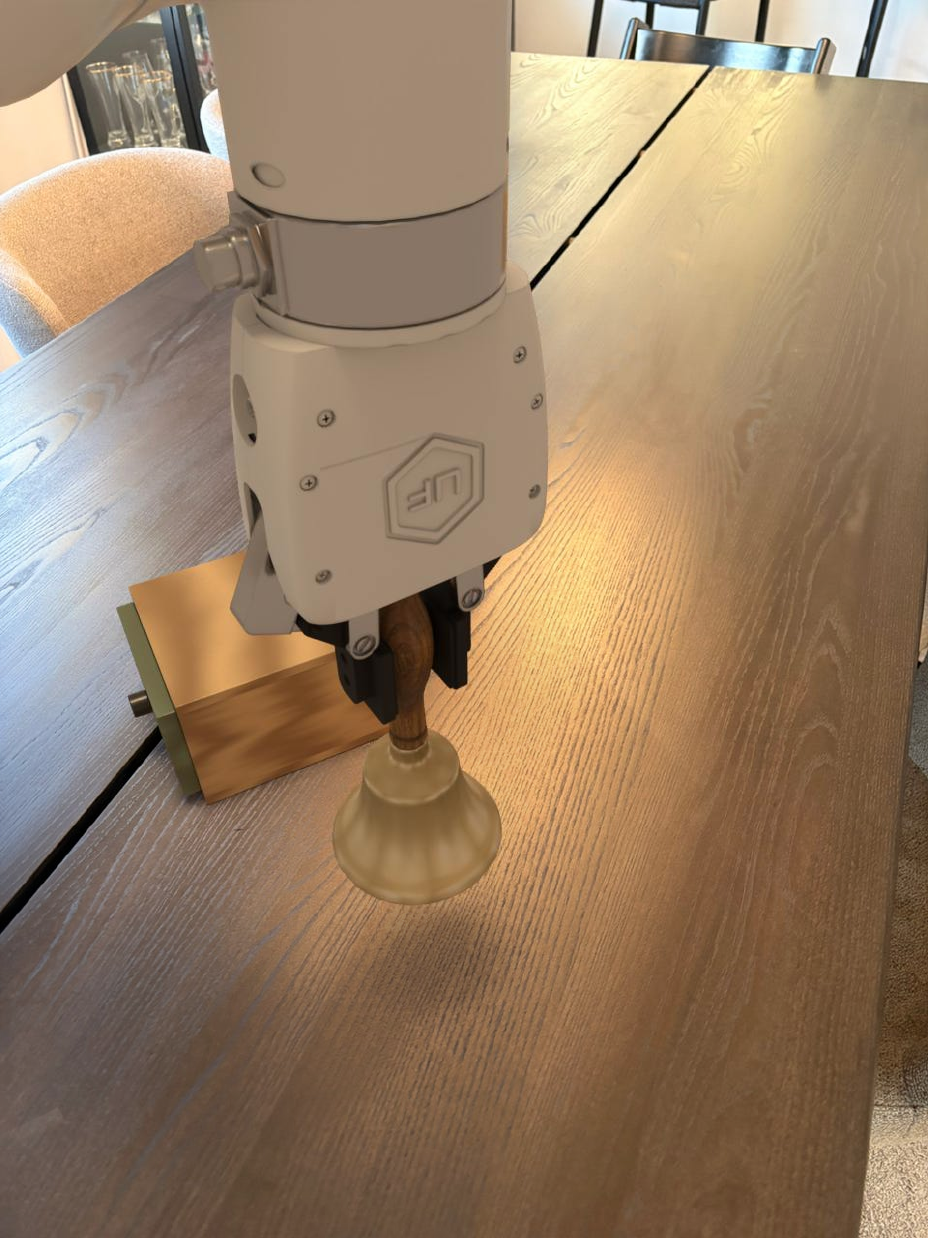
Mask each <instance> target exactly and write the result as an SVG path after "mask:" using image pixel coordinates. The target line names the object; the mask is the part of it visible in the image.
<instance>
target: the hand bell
mask: <svg viewBox="0 0 928 1238" xmlns="http://www.w3.org/2000/svg"><path fill="white" fill-rule="evenodd" d="M379 634H380V636H381V637H382V638H383V639H384V640H385V641H386V642H387V644H388V645H389V646H390V647H391V649H392V651H393V653H394V660H395V673H396V685H397V698H398V710H399V714H398V715H396V719H395V720H394V721H392V722H390V723H389V733H387V734H385V735H384V736H382V737H380V738H377V739H376V741H374V742H373V744H371V746H370V747H369V748H368V750H367V752H366V754H365V756H364V758H363V762H362V777H361V781H359V782H358V783H356V785H355V786H354V787H353V788H352V789H351V790H350V791H349V793H348V794H347V795H346V797H345V798H344V799H343V801H342V803H341V805H340V807H339V808H338V810H337V813H336V816H335V818H334V821H333V826H332V835H331V836H332V839H331V840H332V848H333V849H332V850H333V854H334V857H335V859H336V861H337V863H338V866H339V868H340V870H341V871H342V873H343V874H344V875H345V876H346V878H347V879H348V880H349V881H350V882H351V884H352V885H354V886H355V887H356V888H357V889H359V890H360V891H362V892H363V893H365V894H368V895H369V896H371V897H372V898H375V899H377V900H380V901H382V902H386V903H389V904H394V905H400V906H409V907H410V906H411V907H412V906H414V907H415V906H424V905H430V904H435V903H439V902H441V901H446V900H450V899H452V898H454V897H456V896H458V895H460V894H462V893H464V892H465V891H466V890H468V889H470V888H472V887H473V886H474V885H476V884H477V883H478V882H479V881H480V880H481V879H482V877H484V876H485V874H486V873H487V872H488V870H489V869H490V868H491V866H492V865H493V863H494V861H495V860H496V859H497V855H498V853H499V850H500V847H501V842H502V834H503V828H502V827H503V826H502V818H501V814H500V811H499V808H498V805H497V803H496V801H495V800H494V798H493V796H492V795H491V793H490V792H489V791H488V789H487V788H486V787H485V786H484V785H483V784H482V783H481V782H480V781H478V780H477V779H476V778H475V777H473V776H472V775H471V774H470V773H468V772H466V771H465V770H462V766H461V761H460V756H459V753H458V751H457V749H456V748H455V747H456V746H454V745H453V743H452V742H451V741H450V740H449V739H448V738H447V737H445V736H444V735H443V734H441V733H440V732H437V731H436V730H433V729H431V728H430V729H429V728H428V724H427V716H426V715H427V714H426V707H425V692H426V688H427V684H428V681H429V679H430V676H431V673H432V671H433V670H432V664H433V656H434V638H433V627H432V623H431V619H430V616H429V613H428V611H427V609H426V607H425V604H424V602H423V600H422V598H421V597H420V595H419V593H415V594H413V595H410V596H408V597H406V598H403V599H401V600H398V601H396V602H394V603H391V604H389V605H387V606H384V607H382V608H379Z"/></svg>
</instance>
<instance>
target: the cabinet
mask: <svg viewBox="0 0 928 1238" xmlns="http://www.w3.org/2000/svg"><path fill="white" fill-rule="evenodd" d="M246 552H247V549H246V550H243V551H239V552H236V553H233V554H230V555H226V556H223V557H220V558H216V559H212V560H211V561H207V562H203V563H200V564H197V565H194V566H191V567H187V568H184V569H180V570H177V571H173V572H172V573H168V574H164V575H162V576H157V577H155V578H152V579H149V580H145V581H142V582H139V583H135V584H132V585H129V586H128V591H129V594H130V597H131V600H132V602H133V603H134V605H135V607H136V610H137V612H138V615H139V618H140V620H141V623H142V625H143V628H144V631H145V633H146V636H147V638H148V641H149V643H150V646H151V649H152V651H153V654H154V656H155V659H156V662H157V664H158V667H159V669H160V672H161V674H162V677H163V680H164V682H165V685H166V687H167V690H168V693H169V695H170V698H171V700H172V703H173V705H174V708H175V711H176V713H177V716H178V720H179V723H180V726H181V729H182V732H183V735H184V738H185V741H186V744H187V747H188V750H189V753H190V756H191V759H192V762H193V765H194V768H195V771H196V774H197V777H198V780H199V783H200V786H201V793H202V795H203V798H204V800H205V803H206V805H207V806H209V805H212V804H214V803H216V802H219V801H221V800H224V799H226V798H230V797H232V796H234V795H237V794H241V793H242V792H245V791H247V790H249V789H252V788H255V787H257V786H260V785H262V784H265V783H268V782H271V781H272V780H276V779H278V778H280V777H282V776H283V777H284V776H285V775H288V774H291V773H293V772H295V771H298V770H301V769H303V768H305V767H308V766H310V765H313V764H316V763H318V762H321V761H325V760H326V759H329V758H331V757H334V756H336V755H339V754H342V753H344V752H347V751H349V750H351V749H354V748H357V747H360V746H362V745H365V744H367V743H370V742H372V741H375V740H378V739H379V738H381V737H382V736H384V735H385V734H387V733H389V723H387V724H385V725H383V724H382V723H381V722H380V721H379V720H378V719H377V717H376V716H375V715H374V713H373V712H372V711H371V710H370V708H369V707H368V706H367V705H366V703H365V702H364V701H363V702H361V703H359V704H354V703H353V702H352V701H351V699H350V698H349V697H348V696H347V694H346V693H345V691H344V689H343V688H342V685H341V683H340V680H339V676H338V669H337V661H336V654H335V647H334V645H331V644H328V643H325V642H322V641H319V640H316V639H313V638H310V637H307V636H305V635H304V634H303V633H302V632H292V633H291V634H290V635H249V634H247V633H246V632H245V631H244V629H243V628H242V626H241V625H240V624H239V622H238V621H237V620H236V618H235V617H234V615H233V614H232V612H231V610H230V604H231V601H232V597H233V594H234V591H235V588H236V584H237V581H238V578H239V575H240V571H241V568H242V565H243V562H244V558H245V555H246Z"/></svg>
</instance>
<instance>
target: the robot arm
mask: <svg viewBox="0 0 928 1238" xmlns="http://www.w3.org/2000/svg"><path fill="white" fill-rule="evenodd" d="M193 4H197V5H198V6H199V7H200V8H201V10H202V11H203V13H204V16H205V17H204V18H205V22H206V23H205V25H206V29H207V35H208V40H209V47H210V52H211V58H212V64H213V70H214V71H213V72H214V77H215V83H216V88H217V89H216V90H217V95H218V101H219V107H220V113H221V120H222V125H223V132H224V137H225V144H226V148H227V149H226V150H227V155H228V162H229V168H230V173H231V175H230V176H231V179H232V186H233V190H230V191H227V192H226V196H227V197H226V198H227V202H228V209H229V217H228V226H226V227H221V228H219V230H218V231H217V235H213V236H209V237H204V238H201V239H196V240H194V241H193V244H192V254H193V259H194V263H195V267H196V270H197V273H198V276H199V277H200V280H201V282H202V284H203V286H204V288H205V289H206V290H207V291H208V292H209V293H214V292H218V291H222V290H226V289H231V288H233V289H234V290H236V291H243V290H247V292H245V293H243V294H240V295H238V296H237V297H236V298H235V299H234V302H233V305H232V307H233V308H232V317H231V331H230V332H231V333H230V358H229V382H230V384H229V385H230V388H229V390H230V413H231V414H230V415H231V430H232V444H233V451H234V462H235V472H236V480H237V488H238V495H239V502H240V507H241V512H242V513H241V515H242V521H243V525H244V530H245V534H246V537H247V541H248V546H247V549H246V550H247V552H246V555H245V558H244V562H243V565H242V568H241V571H240V575H239V578H238V581H237V584H236V588H235V591H234V594H233V597H232V601H231V604H230V610H231V612H232V614H233V615H234V617H235V618H236V620H237V621H238V622H239V624H240V625H241V626H242V628H243V629H244V631H245V632H246V633H247V634H249V635H290V634H291V633H292V632H302V633H303V634H304V635H305V636H307V637H310V638H313V639H316V640H319V641H322V642H325V643H328V644H331V645H334V647H335V654H336V661H337V669H338V676H339V680H340V683H341V685H342V688H343V689H344V691H345V693H346V694H347V696H348V697H349V698H350V699H351V701H352V702H353V703H354V704H359V703H361V702H363V701H364V702H365V703H366V705H367V706H368V707H369V708H370V710H371V711H372V712H373V713H374V715H375V716H376V717H377V719H378V720H379V721H380V722H381V723H382V724H383V725H385V724H387V723H390V722H392V721H394V720H395V719H396V715H398V714H399V710H398V698H397V685H396V673H395V660H394V653H393V651H392V649H391V647H390V646H389V645H388V644H387V642H386V641H385V640H384V639H383V638H382V637H381V636H380V634H379V608H382V607H384V606H387V605H389V604H391V603H394V602H396V601H398V600H401V599H403V598H406V597H408V596H410V595H413V594H415V593H419V595H420V597H421V598H422V600H423V602H424V604H425V607H426V609H427V611H428V613H429V616H430V619H431V623H432V627H433V638H434V656H433V664H432V670H431V671H433V673H435V675H436V676H437V677H438V678H439V679H440V680H441V681H442V683H443V684H444V685H445V686H446V687H447V688H448V689H450V690H452V689H453V690H455V691H456V690H459V689H461V688H463V687H465V686H467V685H468V682H469V681H468V679H469V678H468V677H469V673H468V669H469V668H468V667H469V666H468V663H469V662H468V661H469V660H468V653H469V652H470V651H471V649H472V611H474V610H475V609H476V608H478V607H479V606H480V605H481V603H482V602H483V601H484V598H485V595H486V590H485V589H486V588H485V580H486V579H487V578H488V576H489V574H491V572H492V570H493V569H494V568H495V566H496V565H497V564H498V562H499V561H500V560H501V558H502V557H503V556H504V555H506V554H508V553H511V552H512V551H514V550H516V549H517V548H520V547H521V546H523V545H524V544H525V543H527V542H528V541H529V540H530V539H531V538H533V537H534V536H535V535H536V533H537V532H538V531H539V530H540V528H541V526H542V524H543V522H544V518H545V514H546V510H547V509H546V508H547V499H548V478H549V431H548V404H547V389H546V388H547V387H546V376H545V366H544V357H543V349H542V348H543V347H542V341H541V336H540V335H541V334H540V330H539V323H538V319H537V318H538V317H537V312H536V308H535V303H534V298H533V297H534V296H533V291H532V288H531V284H530V279H529V276H528V273H527V272H526V271H525V269H524V268H522V267H521V266H520V265H519V264H517V263H515V262H513V261H511V260H509V259H507V257H508V220H509V219H508V218H509V217H508V215H509V212H508V211H509V168H510V139H509V133H510V125H511V124H510V123H511V122H510V117H511V116H510V115H511V70H512V69H511V66H512V65H511V63H512V62H511V61H512V26H513V25H512V21H513V20H512V19H513V18H512V17H513V0H0V108H3V107H8V106H10V105H13V104H16V103H18V102H22V101H24V100H27V99H30V98H31V97H33V96H35V95H37V94H39V93H40V92H42V91H43V90H46V89H47V88H48V87H50V86H51V85H52V84H53V83H55V82H56V81H58V80H59V79H60V78H62V76H64V75H65V74H66V73H68V72H69V71H70V70H72V69H73V68H74V67H76V65H78V64H79V63H80V62H81V61H82V60H84V59H85V58H86V57H87V56H88V55H89V54H90V53H91V52H92V51H93V50H94V49H96V48H97V46H98V45H100V44H101V43H102V42H103V40H105V38H107V36H109V35H111V34H113V33H115V32H117V31H119V30H122V29H123V28H125V27H128V26H130V25H133V24H134V23H137V22H138V21H141V20H143V19H144V18H147V17H148V16H150V15H152V14H154V13H157V12H159V11H160V10H162V9H164V8H171V7H176V6H183V5H193Z"/></svg>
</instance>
